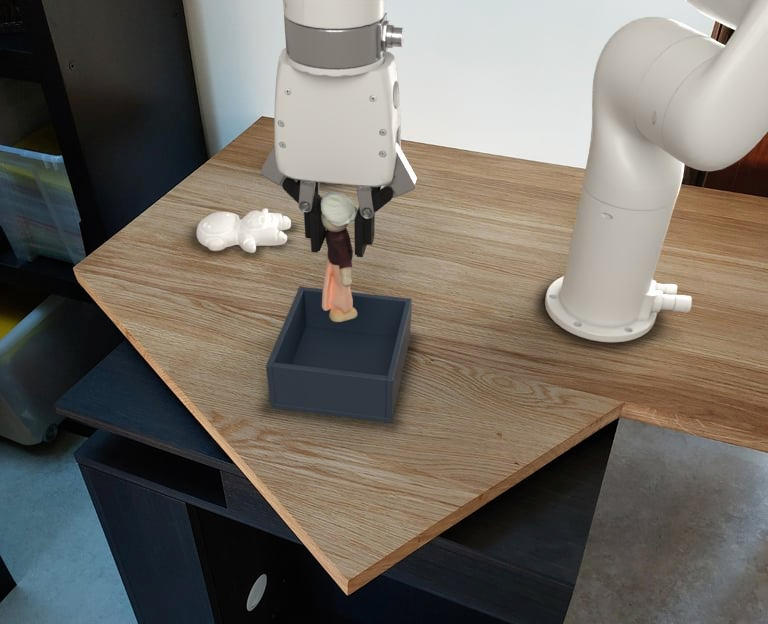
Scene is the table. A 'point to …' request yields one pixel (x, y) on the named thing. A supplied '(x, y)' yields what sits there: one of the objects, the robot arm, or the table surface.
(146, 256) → the table surface
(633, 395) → the table surface
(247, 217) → the astronaut figurine
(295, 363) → the bin
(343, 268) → the grandmother figurine
